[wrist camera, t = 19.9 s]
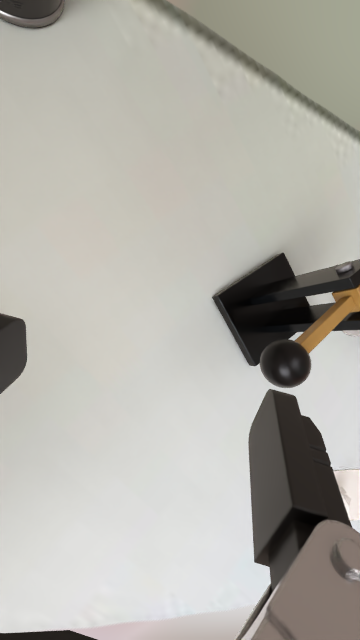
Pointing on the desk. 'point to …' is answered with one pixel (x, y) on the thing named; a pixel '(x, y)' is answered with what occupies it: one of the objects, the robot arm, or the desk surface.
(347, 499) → the adhesive hook
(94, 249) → the desk surface
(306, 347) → the black ball knob lever
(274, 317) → the black lever stand
